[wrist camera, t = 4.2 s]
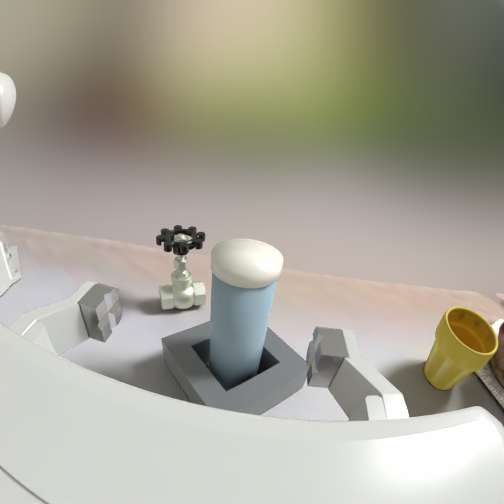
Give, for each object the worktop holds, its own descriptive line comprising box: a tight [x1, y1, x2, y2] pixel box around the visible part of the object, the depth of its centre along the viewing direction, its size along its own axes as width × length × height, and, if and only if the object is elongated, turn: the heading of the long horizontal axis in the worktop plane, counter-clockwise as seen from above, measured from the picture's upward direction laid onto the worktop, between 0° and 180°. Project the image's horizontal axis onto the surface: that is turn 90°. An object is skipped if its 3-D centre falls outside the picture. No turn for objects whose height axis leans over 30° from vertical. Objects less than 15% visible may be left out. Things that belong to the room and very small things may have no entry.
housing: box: [161, 321, 309, 415], centre depth 29 cm, size 12×12×4 cm
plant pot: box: [424, 306, 498, 390], centre depth 29 cm, size 10×10×10 cm
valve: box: [156, 225, 206, 310], centre depth 38 cm, size 7×7×12 cm
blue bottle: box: [209, 239, 283, 391], centre depth 26 cm, size 6×6×17 cm
